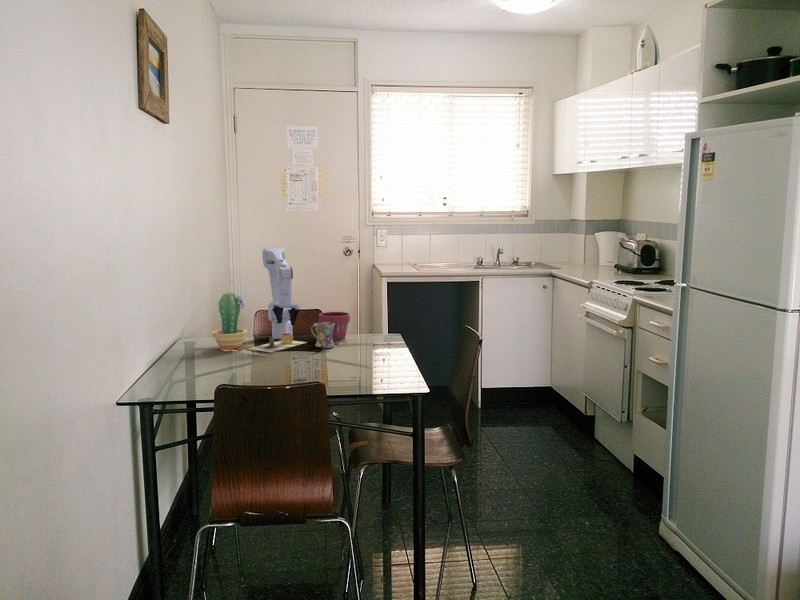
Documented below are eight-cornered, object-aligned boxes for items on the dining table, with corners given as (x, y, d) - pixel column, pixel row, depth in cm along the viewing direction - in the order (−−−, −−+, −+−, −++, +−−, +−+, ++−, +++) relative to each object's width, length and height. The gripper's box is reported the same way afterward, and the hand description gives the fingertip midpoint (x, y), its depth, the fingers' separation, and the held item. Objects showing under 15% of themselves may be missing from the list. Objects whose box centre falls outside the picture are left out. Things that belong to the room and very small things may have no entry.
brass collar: (286, 341, 309) (286, 333, 308) (295, 342, 306) (294, 334, 305) (279, 343, 304) (278, 334, 304) (287, 344, 302) (287, 335, 301)
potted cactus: (232, 354, 289) (230, 295, 285) (204, 351, 295) (201, 294, 292) (255, 347, 303) (253, 291, 299) (228, 344, 309) (225, 290, 306)
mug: (339, 346, 302) (338, 323, 301) (326, 350, 294) (326, 326, 293) (318, 344, 308) (317, 321, 307) (305, 347, 300) (304, 324, 299)
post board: (284, 342, 314) (283, 330, 313) (307, 344, 307) (307, 333, 306) (247, 351, 294) (246, 339, 293) (271, 354, 286) (271, 342, 286)
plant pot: (356, 339, 318) (355, 312, 316) (338, 345, 306) (337, 317, 304) (332, 337, 325) (331, 310, 324) (313, 342, 313) (312, 314, 312)
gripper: (267, 294, 303) (268, 324, 304) (292, 295, 295) (293, 326, 297) (277, 292, 308) (278, 321, 310) (302, 294, 301) (303, 324, 303)
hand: (286, 324), depth 304 cm, fingers open, 7 cm apart
